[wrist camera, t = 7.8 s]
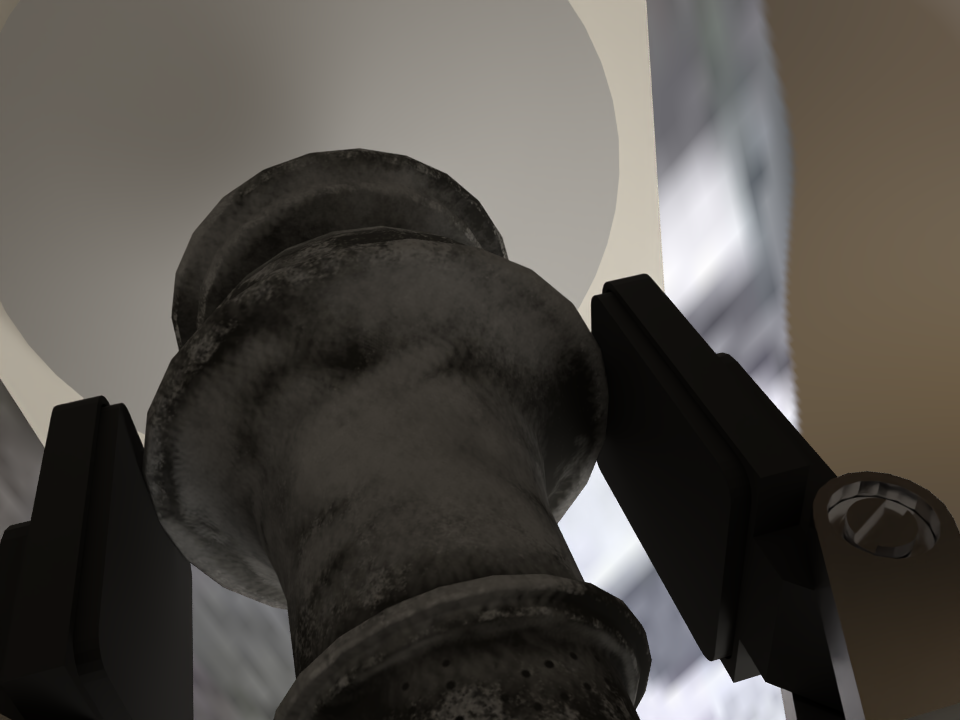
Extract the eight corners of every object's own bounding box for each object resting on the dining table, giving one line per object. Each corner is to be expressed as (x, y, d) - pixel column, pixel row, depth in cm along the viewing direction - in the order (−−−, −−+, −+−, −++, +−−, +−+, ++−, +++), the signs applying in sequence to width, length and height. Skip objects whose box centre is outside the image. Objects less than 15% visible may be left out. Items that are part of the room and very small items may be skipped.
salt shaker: (59, 316, 13) (-275, 1945, 3) (366, 37, 12) (1109, 1274, 2) (337, 506, 16) (553, 1581, 7) (593, 304, 15) (1263, 1237, 6)
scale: (623, 316, 25) (680, 392, 22) (121, 472, 23) (112, 574, 21) (544, -500, 15) (628, -556, 12) (-342, -320, 13) (-484, -334, 11)
